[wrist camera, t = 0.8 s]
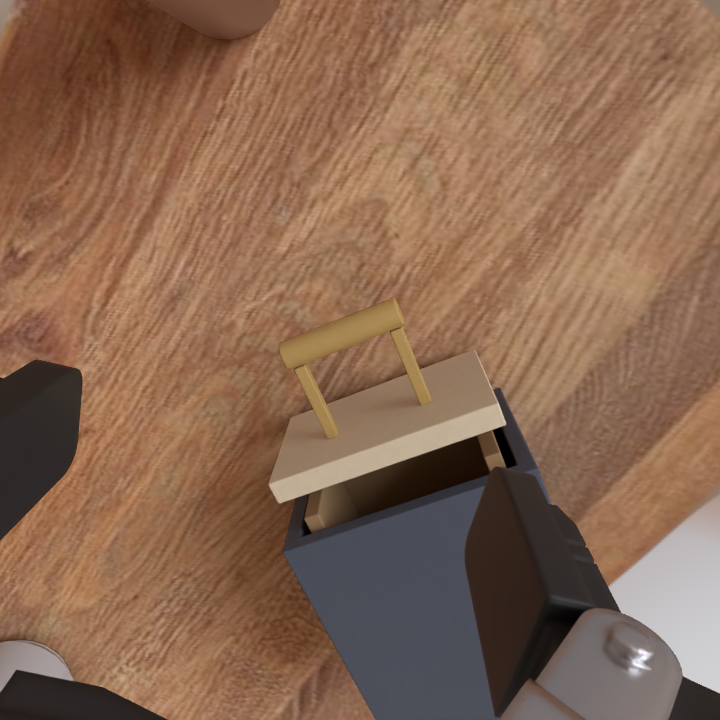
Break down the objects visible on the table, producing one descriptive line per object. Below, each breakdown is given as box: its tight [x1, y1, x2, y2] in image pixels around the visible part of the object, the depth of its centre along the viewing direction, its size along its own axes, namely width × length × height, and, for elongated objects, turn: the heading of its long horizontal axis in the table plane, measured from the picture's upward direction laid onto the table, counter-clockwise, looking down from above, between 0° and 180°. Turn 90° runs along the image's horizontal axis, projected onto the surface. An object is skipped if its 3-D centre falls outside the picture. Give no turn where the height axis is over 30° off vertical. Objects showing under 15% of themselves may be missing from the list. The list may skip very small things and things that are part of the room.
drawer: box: [268, 298, 507, 534], centre depth 31 cm, size 19×11×7 cm, turn 23°
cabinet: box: [283, 388, 551, 720], centre depth 33 cm, size 15×13×9 cm
